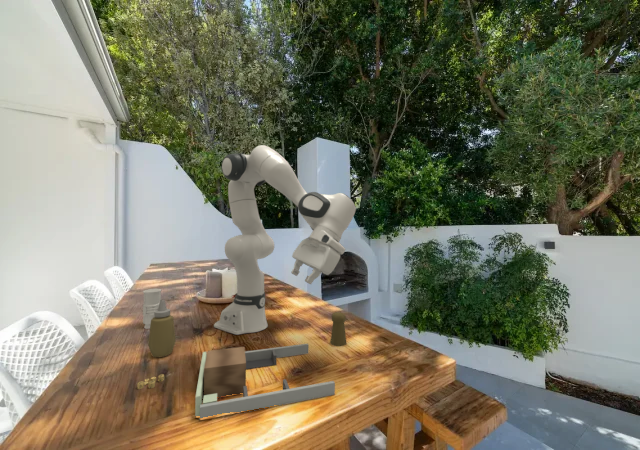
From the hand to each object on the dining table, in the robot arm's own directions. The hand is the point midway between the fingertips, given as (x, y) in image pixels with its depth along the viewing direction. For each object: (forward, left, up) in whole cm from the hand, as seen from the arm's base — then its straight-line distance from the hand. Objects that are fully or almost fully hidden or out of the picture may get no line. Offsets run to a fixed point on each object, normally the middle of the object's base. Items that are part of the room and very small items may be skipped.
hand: (300, 278), depth 86 cm
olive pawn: (+5, +21, -27) cm, 35 cm away
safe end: (-17, -20, -27) cm, 37 cm away
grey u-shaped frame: (-6, -10, -27) cm, 29 cm away
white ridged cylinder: (-72, +5, -27) cm, 77 cm away
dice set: (-33, -24, -28) cm, 49 cm away
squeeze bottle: (-46, -11, -27) cm, 54 cm away
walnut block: (-14, -17, -27) cm, 35 cm away
